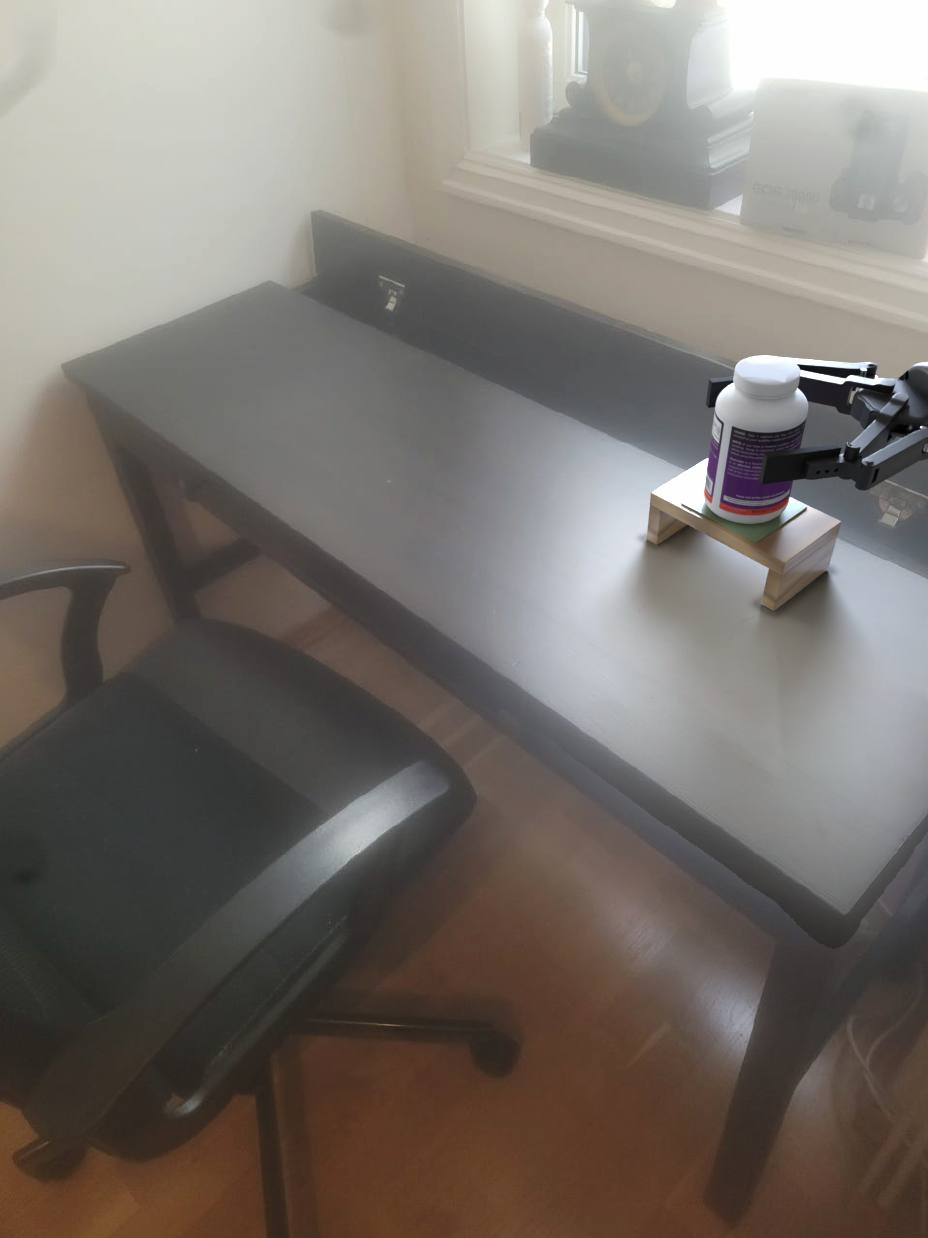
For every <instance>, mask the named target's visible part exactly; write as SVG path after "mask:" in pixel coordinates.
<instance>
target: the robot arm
mask: <svg viewBox="0 0 928 1238" xmlns="http://www.w3.org/2000/svg"><path fill="white" fill-rule="evenodd" d="M780 357H781V358H785V359H788V360H790V361H792V362H794V363H795V364H797V365H798V367H799V368H800V371H801V374H800V379H799V385H798V389H799V390H800V391H801V392H802V393H803V394H804V395H805V397H806V399H807V402H808V403H813V404H819V405H822V406H827V407H834V408H835V409H836V411H837V412H838V413H839V414H842V415H847V416H851V417H852V418H853V419H854V420H856V421H858V422H859V424H860V427H861V428H862V429H863V431H862V432H861V433H860V434H859V435H858V436H857V437H856V438H855V439H854V440H853V441H852V442H850V443H849V442H848V441H847V442H846V443H845V447H844V451H843V453H841V452H842V446H841V445H840V444H839V443H838V442H837V443H830V444H821V445H815V446H807V447H800V448H799V449H791V450H784V451H776V452H769V453H764V455H763V460H762V465H761V470H760V476H759V481H760V483H761V484H762V485H763V484H770V483H778V482H785V481H792V480H793V481H799V480H808V481H815V480H822V479H830V478H839V479H841V480H845V481H846V480H847V481H848V480H851V481H853V482H855V484H854V488H855V489H857V490H859V491H869V490H871V489H873V488H874V487H876V486H878V485H880V484H881V483H883V482H884V481H887V480H889V479H890V478H892V477H894V476H896V475H897V474H899V473H901V472H902V471H904V470H906V469H909V467H911V466H913V465H914V464H917V463H918V462H921V461H927V460H928V361H924V362H919V363H915V364H914V365H912V366H910V367H909V368H908V369H907V370H906V371H905V372H904V373H903V374H901V375H900V376H899V377H897V378H887V377H879V376H878V374H877V371H878V368H879V365H878V363H877V362H874V361H861V362H844V361H834V360H833V361H832V360H820V359H809V358H796V357H785V356H784V357H783V356H780ZM733 377H734V375H732V376H730V375H729V376H722V377H716V378H709V379H708V383H707V384H708V385H707V392H706V399H705V405H706V407H707V408H708V409H712V408H715V406H716V401H717V398H718V396H719V394H720V393H721V392H722V390H723V389H725V388H726V387H727V386H729V385H730V384H732V383H733ZM853 392H854V394H853V396H852V393H853ZM851 397H852V401H851V402H850V400H851ZM896 438H900V439H898V440H895V439H896ZM894 440H895V442H892V441H894ZM891 442H892V443H891Z"/></svg>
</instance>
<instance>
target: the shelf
mask: <svg viewBox="0 0 928 1238" xmlns="http://www.w3.org/2000/svg"><path fill="white" fill-rule="evenodd" d="M707 464H708V457H707V458H705V459H703V460H702V461H700V462H698V463H697V464H695V465H694V466H692V467H690V468H689V469H687V470H686V471H685V470H684V471H683V472H682V473H680V474H678V475H677V476H675V477H674V478H672V479H671V480H670V481H667V482H665V483H664V484H662V485H661V486H659V487H658V488H656V489H654V490H653V491H651V492H650V498H649V509H648V520H647V530H646V540H648V541H649V542H651V543H653V544H655V545H659V544H660V543H662V542H664V541H665V540H667V539H668V538H670V537H671V536H673V535H674V534H677V532H679V531H680V530H682V529H684V528H685V527H687V526H689V527H691V528H693V529H695V530H696V531H698V532H700V533H703V534H704V535H706V536H708V537H710V538H711V539H713V540H715V541H717V542H719V543H721V544H723V545H725V546H727V547H728V548H730V549H732V550H734V551H735V552H738V553H739V554H741V555H743V556H745V557H747V558H749V559H750V560H753V561H754V562H756V563H758V564H760V565H762V566H764V567H765V568H768V571H767V575H766V579H765V584H764V589H763V593H762V597H761V601H760V605H761V606H763V607H766V608H767V609H769V610H770V611H772V612H775V611H776V610H778V609H779V608H780V607H781V606H782V605H784V604H785V603H787V602H788V601H790V599H792V598H793V597H795V596H796V595H797V594H798V593H799V592H801V591H802V590H803V589H805V588H806V587H807V586H808V585H810V584H812V582H814V581H815V580H816V579H818V578H819V577H820V576H822V575H823V574H824V573H826V572H827V571H828V570H829V568H830V564H831V561H832V556H833V555H834V554H833V553H834V550H835V546H836V543H837V539H838V536H839V533H840V529H841V525H842V520H840V519H838V518H835V517H833V516H831V515H829V514H827V513H825V512H822V511H821V510H819V509H816V508H814V507H812V506H810V505H808V504H806V503H803V502H801V501H800V500H797V499H796V498H793V497H791V496H790V498H789V502H788V505H787V507H786V509H785V510H784V511H783V512H782V513H781V514H780V515H779V516H777V517H776V518H774V519H772V520H769V521H766V522H762V523H757V524H743V523H737V522H733V521H729V520H726V519H724V518H722V517H720V516H718V515H717V514H715V513H714V512H713V511H711V509H710V508H709V507H708V506H707V504H706V502H705V500H704V485H705V479H706V472H707Z"/></svg>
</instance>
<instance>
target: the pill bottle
mask: <svg viewBox="0 0 928 1238" xmlns="http://www.w3.org/2000/svg"><path fill="white" fill-rule="evenodd" d="M781 357H782V356H777V355H767V354H766V355H764V354H763V355H754V356H749V357H747V358H743V359H741V360H740V361H739V362H737V364H736V365H735V368H734V371H733V376H734V377H733V383H732V384H730V385H729V386H727V387H726V388H725V389H723V390H722V392H721V393H720V394H719V396H718V398H717V401H716V406H715V407H714V414H713V421H712V427H711V436H710V442H709V449H708V450H709V451H708V457H707V458H708V464H707V472H706V479H705V485H704V500H705V502H706V504H707V506H708V507H709V508H710V509H711V511H713V512H714V513H715V514H717V515H718V516H720V517H722V518H724V519H726V520H729V521H733V522H737V523H743V524H757V523H762V522H766V521H769V520H772V519H774V518H776V517H777V516H779V515H780V514H781V513H782V512H783V511H784V510H785V509H786V507H787V505H788V502H789V498H790V497H791V494H792V488H793V483H794V480H792V481H785V482H778V483H770V484H763V485H762V484H761V483H760V481H759V476H760V470H761V465H762V460H763V455H764V453H769V452H776V451H784V450H791V449H799V448H802V447H801V446H802V442H803V437H804V432H805V428H806V424H807V420H808V419H807V418H808V414H809V402H808V401H807V399H806V397H805V395H804V394H803V393H802V392H801V391H800V390H799V389H798V385H799V379H800V374H801V371H800V368H799V367H798V365H797V364H795V363H794V362H792V361H790V360H788V359H785V358H786V357H785V358H781Z"/></svg>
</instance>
